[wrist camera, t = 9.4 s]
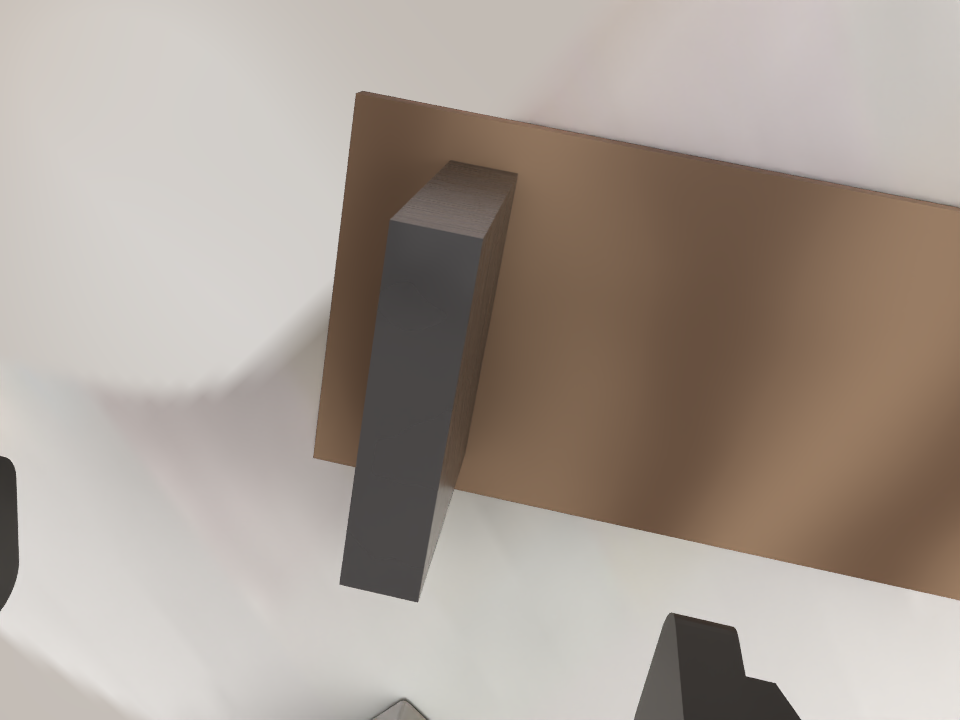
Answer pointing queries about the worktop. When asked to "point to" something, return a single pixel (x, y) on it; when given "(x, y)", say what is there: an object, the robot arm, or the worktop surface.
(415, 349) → the walnut strip
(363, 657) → the worktop surface
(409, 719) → the coffee box
